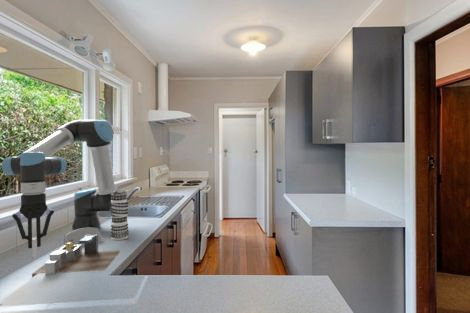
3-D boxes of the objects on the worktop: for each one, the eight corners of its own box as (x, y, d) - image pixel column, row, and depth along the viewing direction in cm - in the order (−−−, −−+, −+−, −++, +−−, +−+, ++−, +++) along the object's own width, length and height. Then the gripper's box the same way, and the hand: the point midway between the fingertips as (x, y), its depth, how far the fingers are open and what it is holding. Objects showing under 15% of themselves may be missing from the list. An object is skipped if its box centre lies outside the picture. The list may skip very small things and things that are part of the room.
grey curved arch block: (66, 253, 127) (63, 231, 129) (63, 254, 130) (60, 232, 132) (104, 244, 139) (101, 224, 141) (100, 245, 142) (97, 225, 144)
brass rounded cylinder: (68, 259, 120) (67, 242, 119) (75, 259, 120) (74, 241, 120) (64, 262, 117) (64, 244, 116) (71, 261, 117) (71, 244, 117)
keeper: (86, 255, 124) (86, 234, 124) (98, 254, 125) (97, 234, 125) (78, 262, 116) (78, 240, 116) (91, 262, 117) (90, 240, 117)
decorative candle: (110, 241, 142) (109, 192, 141) (110, 236, 151) (109, 190, 150) (129, 238, 146) (128, 191, 145) (128, 233, 155) (127, 189, 154)
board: (59, 256, 123) (59, 253, 123) (120, 253, 126) (120, 250, 126) (32, 276, 104) (32, 273, 104) (105, 273, 107) (105, 269, 106)
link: (64, 255, 121) (64, 241, 121) (81, 254, 122) (81, 240, 122) (39, 275, 102) (39, 259, 102) (60, 274, 103) (59, 258, 103)
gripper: (10, 196, 97) (12, 263, 98) (54, 192, 105) (56, 254, 105) (11, 193, 103) (13, 256, 104) (53, 190, 111) (54, 249, 111)
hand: (34, 255), depth 105 cm, fingers closed
